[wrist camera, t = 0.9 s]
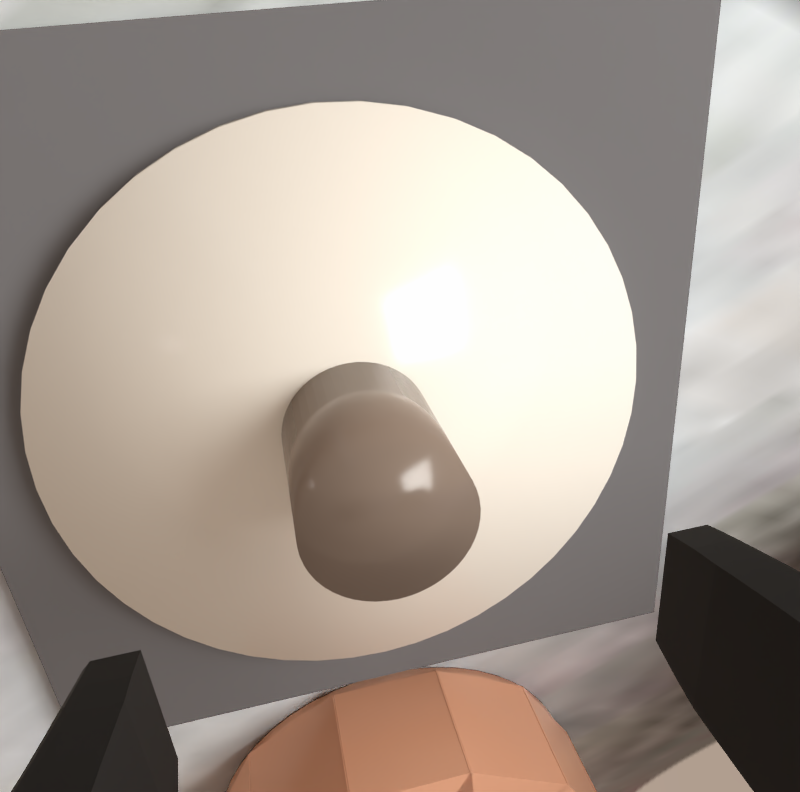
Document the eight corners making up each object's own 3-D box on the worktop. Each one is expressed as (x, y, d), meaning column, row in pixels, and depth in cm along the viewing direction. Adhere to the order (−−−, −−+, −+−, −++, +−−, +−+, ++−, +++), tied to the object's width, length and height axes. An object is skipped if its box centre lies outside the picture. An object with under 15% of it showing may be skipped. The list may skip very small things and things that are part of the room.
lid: (643, 67, 14) (794, 69, 10) (608, 581, 19) (695, 701, 16) (-80, 142, 11) (-221, 180, 8) (124, 693, 17) (98, 860, 14)
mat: (707, -25, 14) (724, -28, 13) (644, 600, 21) (654, 612, 20) (-207, 48, 11) (-225, 48, 11) (82, 731, 18) (78, 747, 18)
